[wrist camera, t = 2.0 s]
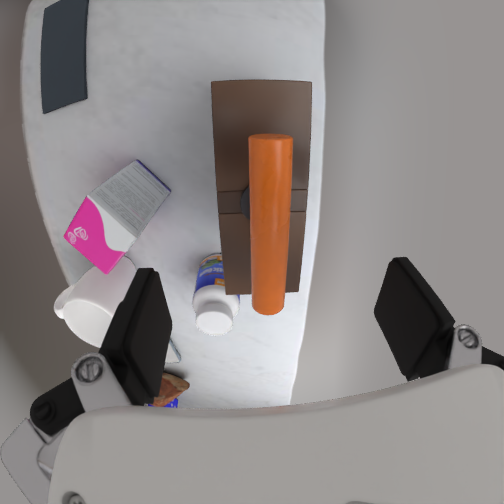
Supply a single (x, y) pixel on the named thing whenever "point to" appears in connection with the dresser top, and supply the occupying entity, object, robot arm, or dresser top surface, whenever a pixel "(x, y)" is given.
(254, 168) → the T-handle
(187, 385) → the reddish-brown rock
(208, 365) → the dresser top surface
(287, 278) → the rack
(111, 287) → the mug
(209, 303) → the pill bottle
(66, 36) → the mat
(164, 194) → the supplement box
